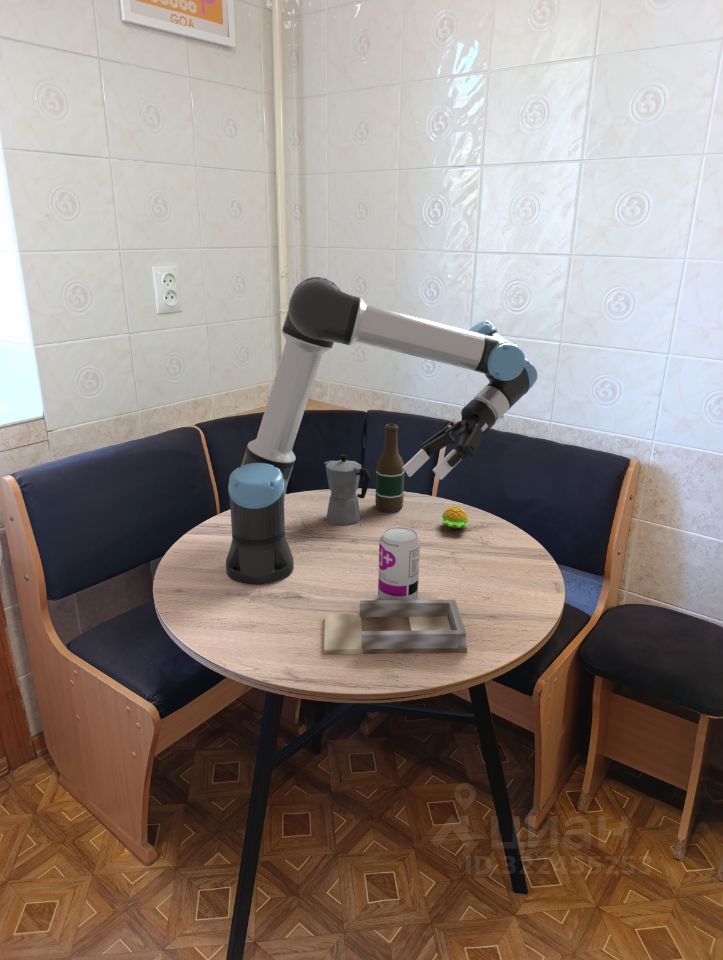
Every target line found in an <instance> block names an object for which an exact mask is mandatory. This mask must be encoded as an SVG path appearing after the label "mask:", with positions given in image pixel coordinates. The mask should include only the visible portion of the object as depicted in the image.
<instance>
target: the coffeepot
mask: <svg viewBox="0 0 723 960" xmlns="http://www.w3.org/2000/svg"><path fill="white" fill-rule="evenodd" d="M347 457H348V455H347V454H340V460H327V461H324V462H323V464H324V465H325V471H326V478H327V483H328V489H329V491H330V496H329V500H328V506H327V512H326V517H325V519H327V521H328V522H329V523H331V524H334V525H338V526H349V525H354V524H357V523H358V522H359V521H360V519H361V510H360V505H359V499H365V498H366V495H367V491H368V489H369V485H370V482H371V479H372V476H371V474H370V472H369V471H368V469H365V468H364V467H362V466H363V465H362V464H360V463H358V462H357V461H355V460H347V459H348V458H347ZM360 476H363V477H364V479H363V484H362V487H361V492H360V493H357V491H358V489H359V482H360V478H361V477H360Z"/></svg>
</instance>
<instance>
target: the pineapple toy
mask: <svg viewBox="0 0 723 960" xmlns="http://www.w3.org/2000/svg"><path fill="white" fill-rule="evenodd" d="M441 517H442V519H443V525H445V526H447V527H449V528H452V529H461V528H465V527H467V524H466V523H468V521H469V516H468V513H467V512H466V511H465V510H464V509H463V508H461V507H459V506H450V507H447V508H446V509H445V510H444V511H443V513H441Z"/></svg>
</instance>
